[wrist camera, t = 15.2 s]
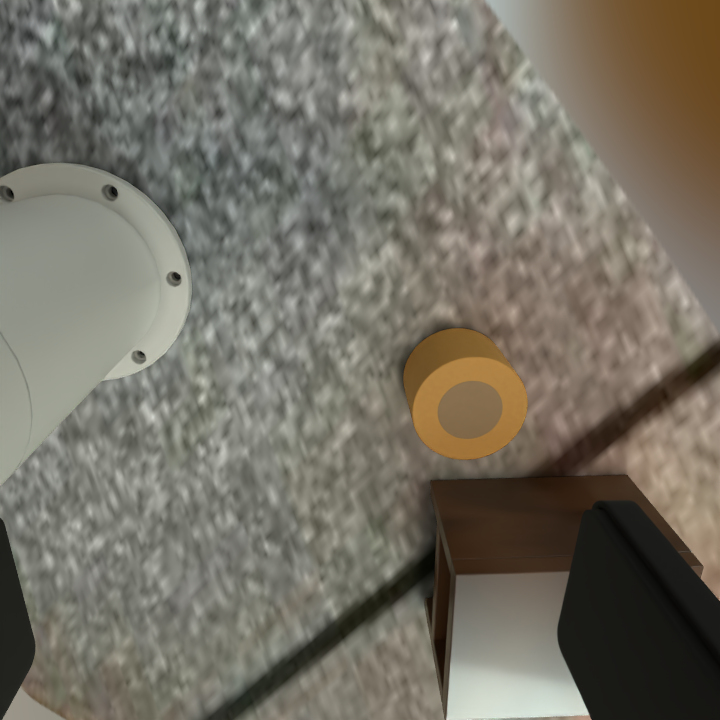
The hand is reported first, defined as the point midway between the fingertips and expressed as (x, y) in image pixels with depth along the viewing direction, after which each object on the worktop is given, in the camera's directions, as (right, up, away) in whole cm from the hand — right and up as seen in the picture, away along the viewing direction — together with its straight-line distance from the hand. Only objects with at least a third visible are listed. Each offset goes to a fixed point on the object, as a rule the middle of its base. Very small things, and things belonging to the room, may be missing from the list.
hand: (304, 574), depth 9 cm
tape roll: (+7, +2, +27) cm, 28 cm away
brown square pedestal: (+13, -10, +32) cm, 36 cm away
